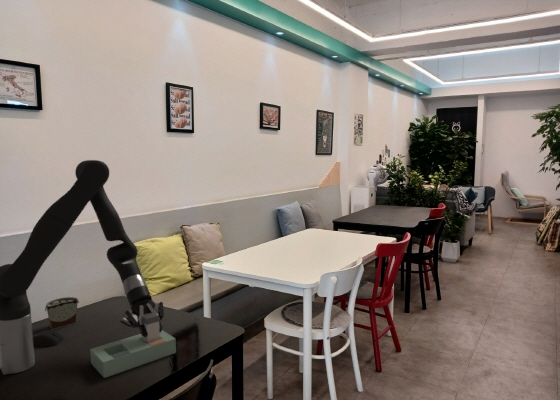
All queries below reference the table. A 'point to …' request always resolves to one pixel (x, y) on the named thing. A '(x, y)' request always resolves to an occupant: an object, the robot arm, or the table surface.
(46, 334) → the computer mouse
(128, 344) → the socket block
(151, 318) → the plug
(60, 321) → the food container
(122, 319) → the external hard drive
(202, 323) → the table surface
